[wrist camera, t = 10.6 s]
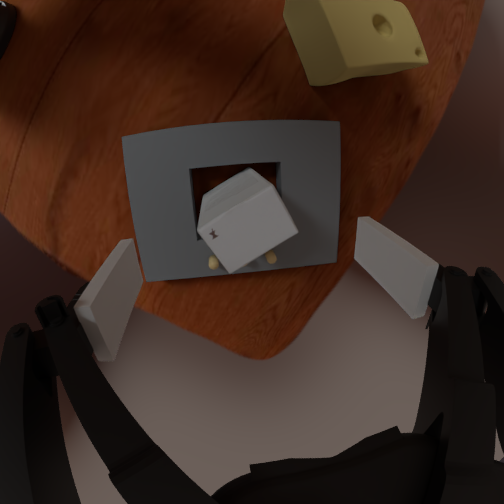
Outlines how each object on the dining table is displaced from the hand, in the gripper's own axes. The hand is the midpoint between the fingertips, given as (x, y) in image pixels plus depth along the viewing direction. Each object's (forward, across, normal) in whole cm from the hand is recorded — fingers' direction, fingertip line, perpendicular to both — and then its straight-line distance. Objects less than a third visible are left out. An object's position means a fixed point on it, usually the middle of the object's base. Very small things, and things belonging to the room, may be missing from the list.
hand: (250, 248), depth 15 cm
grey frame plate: (+16, 0, 0) cm, 16 cm away
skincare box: (+16, 0, 0) cm, 16 cm away
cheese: (+16, +12, +18) cm, 27 cm away
